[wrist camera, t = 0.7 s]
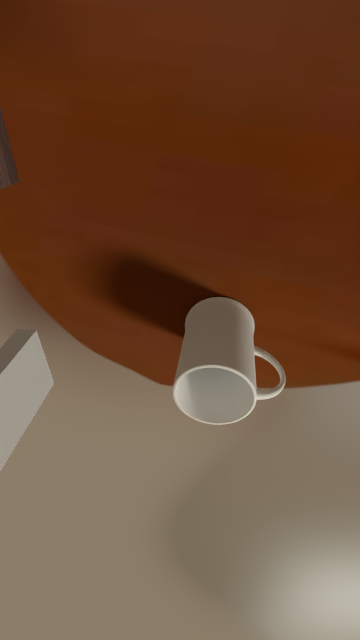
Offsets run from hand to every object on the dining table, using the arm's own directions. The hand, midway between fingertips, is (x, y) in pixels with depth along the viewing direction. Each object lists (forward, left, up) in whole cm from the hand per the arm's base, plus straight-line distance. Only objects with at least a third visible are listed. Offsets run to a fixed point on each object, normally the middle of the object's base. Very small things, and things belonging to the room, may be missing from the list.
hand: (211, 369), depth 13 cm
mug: (+16, +2, -26) cm, 31 cm away
